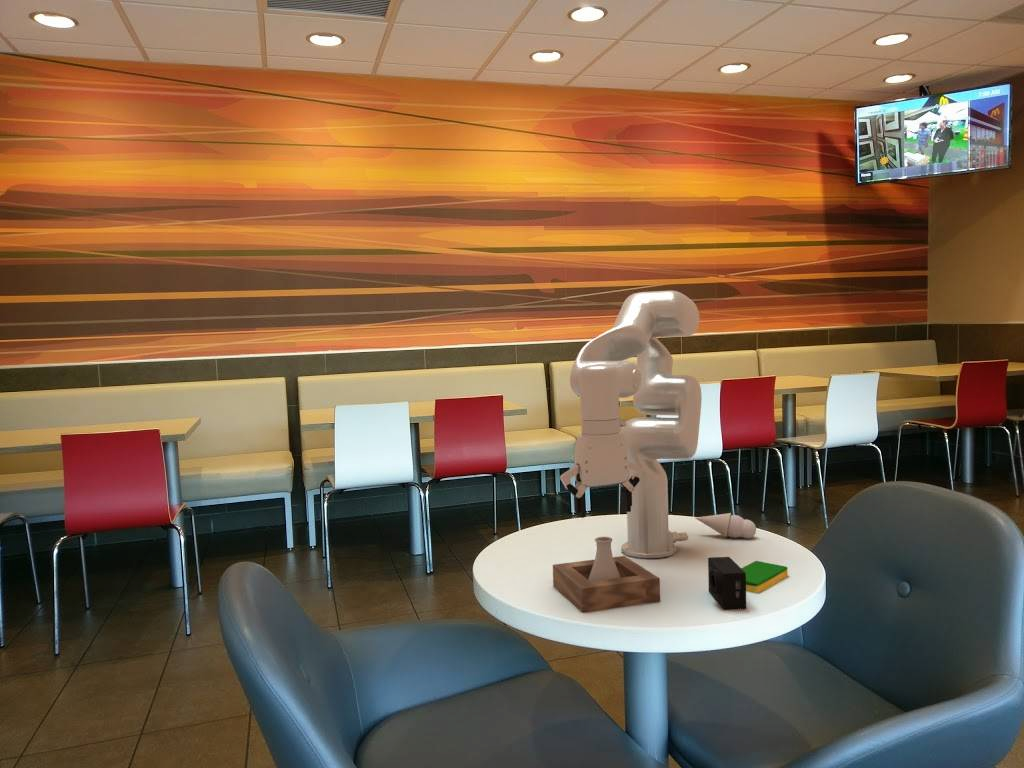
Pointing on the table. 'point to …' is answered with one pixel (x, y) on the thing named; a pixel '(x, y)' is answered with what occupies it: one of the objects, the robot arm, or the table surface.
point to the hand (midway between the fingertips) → (603, 513)
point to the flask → (603, 561)
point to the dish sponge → (763, 575)
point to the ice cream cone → (730, 525)
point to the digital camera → (727, 583)
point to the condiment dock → (606, 585)
